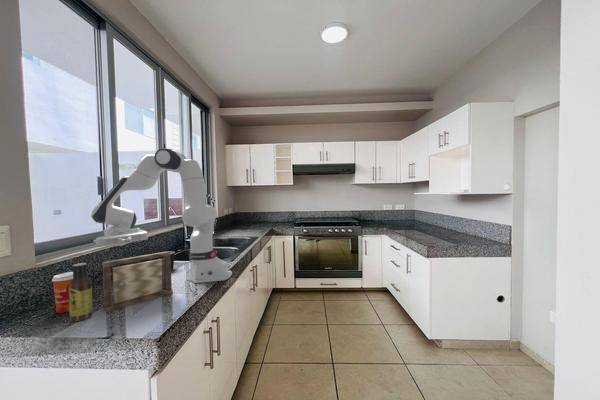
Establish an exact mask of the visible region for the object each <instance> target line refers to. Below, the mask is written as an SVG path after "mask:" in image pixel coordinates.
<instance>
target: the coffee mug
mask: <svg viewBox="0 0 600 400" xmlns="http://www.w3.org/2000/svg"><path fill="white" fill-rule="evenodd" d="M169 252H170V263H171V271H173V270H174V267H175V266H174V265H175V255H176V252H175V251H169ZM157 258H158V259H164V256H163V257H157ZM153 260H154V258H152V259H151V261H153Z"/></svg>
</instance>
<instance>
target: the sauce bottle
mask: <svg viewBox="0 0 600 400" xmlns="http://www.w3.org/2000/svg"><path fill="white" fill-rule="evenodd" d="M87 269H88V264H87V262H80V263H75V264H73V265H72V266H71V270H72V272H73V279H72V281H71V282H70V284H69V316H70V317H69V319H70V321H72V322H81V321H84V320H88V319H89V318H91V317H92V315H93V287H92V279H90V277H89V276H88V273H87Z"/></svg>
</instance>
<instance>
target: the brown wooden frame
mask: <svg viewBox="0 0 600 400" xmlns="http://www.w3.org/2000/svg"><path fill="white" fill-rule="evenodd" d="M170 252H171V251H168V250H166V251H161V252H156V253H150V254H144V255H138V256H133V257H132V256H131V257H126V258H120V259H114V260H108V261H102V282H103V283H102V286H103V287H102V288H103V289H102V290H103V304H102V305H103V309H104V311H105V312H106V313H108V312H111V311H115V310H118V309H122V308H126V307H129V306H133V305H136V304H140V303H143V302H147V301H149V300H153V299H157V298H160V297H163V296H166V295H171V294H173V293H174V291H173V289H172V270H171V263H170ZM163 256H164V269H165V290H163V291H159V292H156V293H152V294H148V295H145V296H141V297H137V298H134V299H130V300H126V301H123V302H119V303H114V301H112V284H111V283H112V280H111V275H112V274H111V267H112V266H117V265H122V264H123V265H124V264H128V263H129V264H130V263H134V262H140V261H145V260H152V258H153V259H154V258H155V259H156V258H158V257H163Z"/></svg>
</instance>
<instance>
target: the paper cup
mask: <svg viewBox="0 0 600 400" xmlns="http://www.w3.org/2000/svg"><path fill="white" fill-rule="evenodd" d="M72 279H73V271H68V272H64V273H63V272H62V273H58V274H56V275H54V276H53V277H52V279H51V281H52V283H53V292H54V300H55V309H56V310H55V311H56V313H57V314H65V313H64V312H66V313H68V312H69V284H70V282H71V281H72Z"/></svg>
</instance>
